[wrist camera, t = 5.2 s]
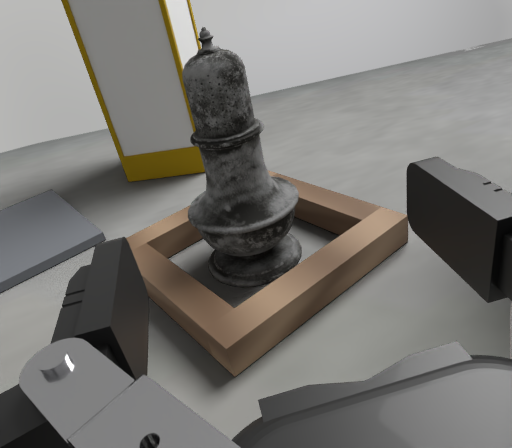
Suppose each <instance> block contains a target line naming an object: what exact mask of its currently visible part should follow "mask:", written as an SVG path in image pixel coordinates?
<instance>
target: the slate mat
mask: <svg viewBox="0 0 512 448" xmlns="http://www.w3.org/2000/svg"><path fill="white" fill-rule="evenodd" d="M104 240H106V238H105V236H104V234H103V232H102V231H101V230H100V229H98V228H97V227H96V226H95V225H94V224H92V223H91V222H90V221H89V220H88V219H86V218H85V217H84V216H83V215H82V214H80V213H79V212H78V211H77V210H76V209H74V208H73V207H72V206H71V205H70V204H69V203H67V202H66V201H65V200H64V199H63V198H61V197H60V196H59V195H58V194H57V193H55V192H54V191H53V190H52V189H51V190H49V191H46V192H44V193H41V194H39V195H37V196H34V197H32V198H29V199H27V200H25V201H22V202H20V203H17V204H15V205H12V206H10V207H8V208H5V209H3V210H0V293H1V292H3V291H5V290H7V289H9V288H11V287H13V286H15V285H17V284H19V283H21V282H23V281H25V280H27V279H29V278H31V277H33V276H35V275H37V274H39V273H41V272H43V271H45V270H47V269H49V268H51V267H53V266H55V265H57V264H59V263H61V262H63V261H65V260H66V259H68V258H70V257H72V256H74V255H76V254H78V253H80V252H82V251H84V250H86V249H88V248H90V247H92V246H94V245H96V244H98V243H100V242H102V241H104Z"/></svg>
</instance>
